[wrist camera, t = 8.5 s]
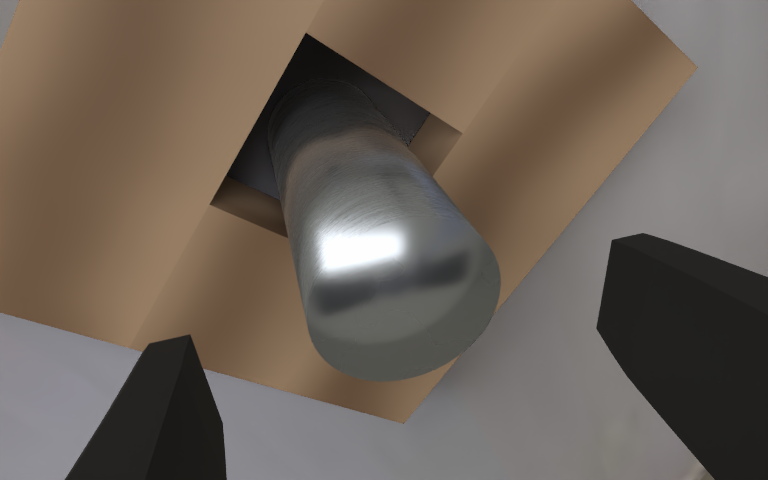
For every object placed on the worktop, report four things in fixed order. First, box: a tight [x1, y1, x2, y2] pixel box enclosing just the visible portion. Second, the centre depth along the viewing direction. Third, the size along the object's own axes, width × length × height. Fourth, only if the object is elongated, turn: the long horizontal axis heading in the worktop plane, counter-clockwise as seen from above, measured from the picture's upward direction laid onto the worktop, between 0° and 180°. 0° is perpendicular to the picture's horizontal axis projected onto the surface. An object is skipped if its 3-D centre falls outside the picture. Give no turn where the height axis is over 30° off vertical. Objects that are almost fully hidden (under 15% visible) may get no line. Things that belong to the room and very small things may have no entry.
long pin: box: [267, 78, 501, 382], centre depth 13 cm, size 4×4×9 cm
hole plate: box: [0, 0, 698, 424], centre depth 16 cm, size 16×16×2 cm
